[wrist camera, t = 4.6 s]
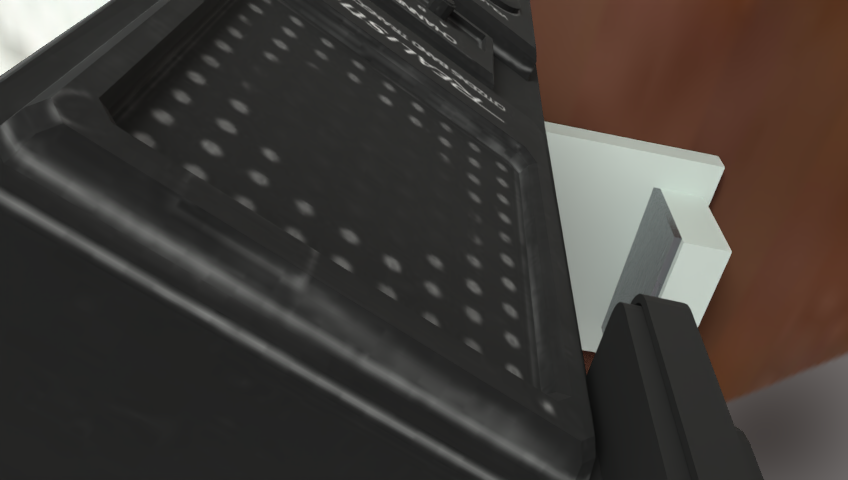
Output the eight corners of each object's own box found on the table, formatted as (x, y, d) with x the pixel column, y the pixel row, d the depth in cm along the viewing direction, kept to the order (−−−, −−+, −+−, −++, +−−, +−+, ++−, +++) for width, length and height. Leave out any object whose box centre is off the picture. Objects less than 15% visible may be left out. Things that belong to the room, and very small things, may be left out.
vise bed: (718, 156, 46) (757, 219, 40) (639, 346, 53) (661, 427, 47) (230, 58, 45) (188, 107, 39) (216, 267, 52) (179, 338, 46)
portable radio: (563, -36, 27) (936, 829, 5) (452, 103, 29) (392, 1054, 8) (365, -197, 25) (-387, 134, 3) (264, -32, 27) (-518, 762, 6)
